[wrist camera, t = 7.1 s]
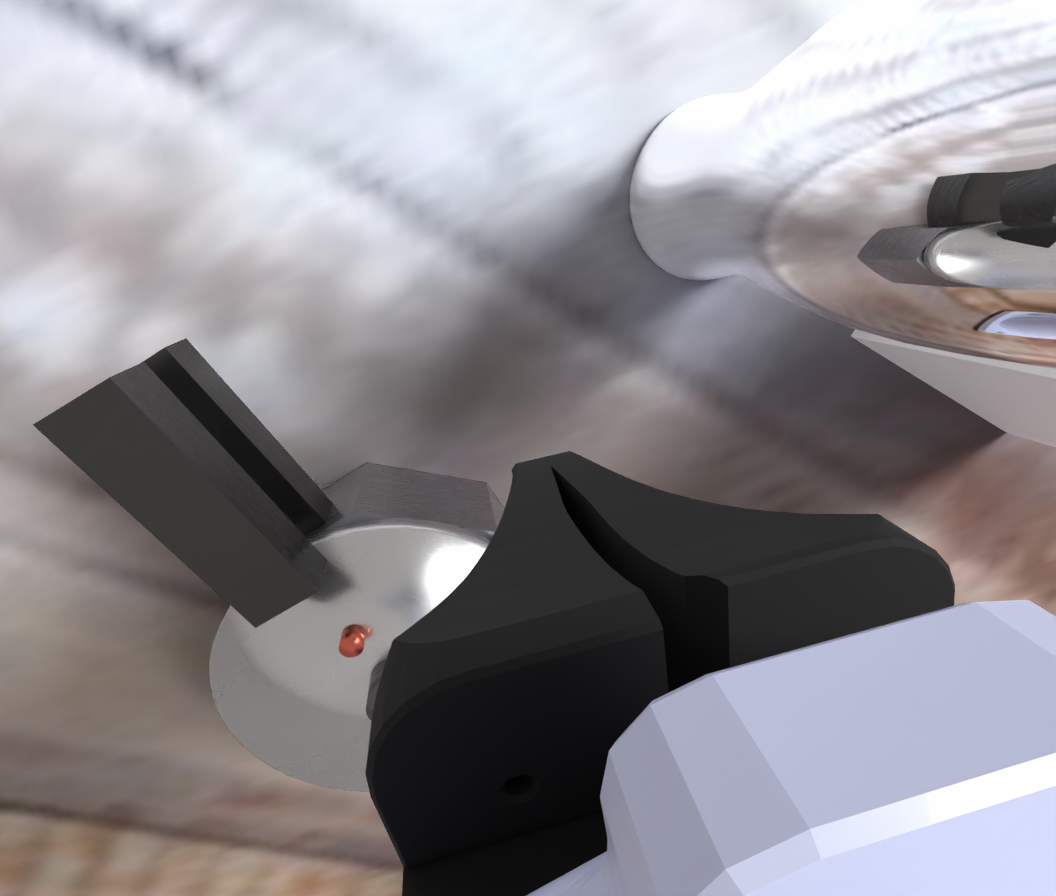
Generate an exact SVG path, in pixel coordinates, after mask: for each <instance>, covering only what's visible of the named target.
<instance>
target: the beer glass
mask: <svg viewBox="0 0 1056 896" xmlns="http://www.w3.org/2000/svg"><path fill="white" fill-rule="evenodd" d="M630 213H631V220H632V224H633V228H634V231H635V234H636V236H637V239H638V241H639V243H640V245H641V246H642V248H643V250H644V251H645V253H646V254H647V255H648V256H649V258H650V259H651V260H652V261H653V262H654V263H655V264H657V265H658V266H659V267H660V268H662V269H663V270H665V271H666V272H668V273H670V274H672V275H674V276H677V277H680V278H684V279H689V280H711V279H718V278H723V277H728V276H732V275H739V276H742V277H744V278H747V279H749V280H751V281H753V282H755V283H757V284H758V285H760V286H762V287H764V288H766V289H768V290H769V291H771V292H773V293H775V294H777V295H779V296H781V297H783V298H785V299H787V300H789V301H791V302H792V303H794V304H796V305H798V306H800V307H802V308H804V309H806V310H809V311H811V312H813V313H816V314H818V315H821V316H823V317H825V318H828V319H830V320H833V321H835V322H837V323H840V324H842V325H844V326H847V327H850V328H853V329H856V330H860V331H863V332H867V333H871V334H874V335H878V336H881V337H885V338H889V339H892V340H896V341H899V342H903V343H907V344H911V345H916V346H921V347H926V348H932V349H937V350H942V351H947V352H952V353H957V354H962V355H967V356H973V357H979V358H986V359H993V360H999V361H1006V362H1012V363H1019V364H1026V365H1032V366H1039V367H1046V368H1054V369H1056V0H856V1H855V2H854V3H852V4H851V5H850V6H848V7H847V8H846V9H844V10H843V11H842V12H840V13H839V14H838V15H836V16H835V17H834V18H832V19H831V20H830V21H829V22H827V23H826V24H825V25H824V26H823V27H821V28H820V29H819V30H818V31H817V32H816V33H814V34H813V35H812V36H811V37H810V38H808V39H807V40H806V41H805V42H804V43H802V44H801V45H800V46H799V47H798V48H797V49H795V50H794V51H793V52H792V53H791V54H789V55H788V56H787V57H786V58H785V59H784V60H783V61H781V62H780V63H779V64H778V65H777V66H776V67H775V68H773V69H772V70H771V71H770V72H769V73H768V74H766V75H765V76H764V77H763V78H762V79H761V80H759V81H758V82H757V83H756V84H754V85H753V86H752V87H751V88H749V89H748V90H746V91H744V92H740V93H723V94H714V95H708V96H704V97H701V98H698V99H695V100H692V101H690V102H688V103H686V104H684V105H682V106H680V107H679V108H677V109H676V110H674V111H673V112H672V113H670V114H669V115H668V116H667V117H666V118H665V119H664V120H663V121H662V122H661V123H660V124H659V125H658V126H657V127H656V129H655V130H654V131H653V132H652V134H651V135H650V137H649V138H648V140H647V141H646V143H645V145H644V146H643V148H642V150H641V152H640V155H639V157H638V159H637V162H636V165H635V168H634V171H633V175H632V180H631V186H630Z"/></svg>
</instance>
